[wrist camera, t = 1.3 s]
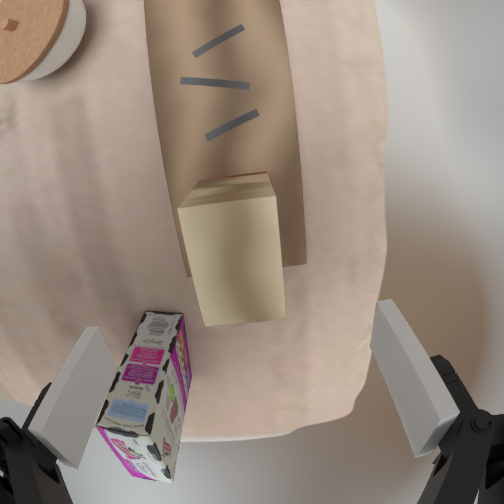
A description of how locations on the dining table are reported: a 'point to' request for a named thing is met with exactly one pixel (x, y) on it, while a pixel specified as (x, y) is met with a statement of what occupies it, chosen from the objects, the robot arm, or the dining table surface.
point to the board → (226, 103)
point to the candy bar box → (149, 398)
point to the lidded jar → (38, 37)
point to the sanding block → (234, 249)
